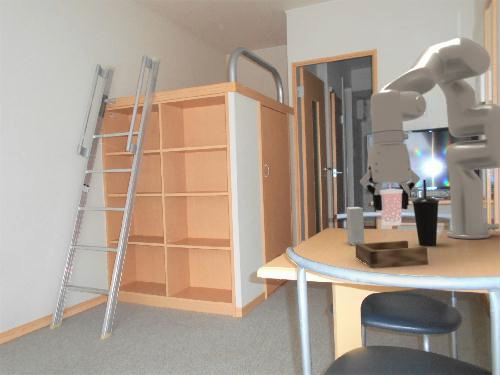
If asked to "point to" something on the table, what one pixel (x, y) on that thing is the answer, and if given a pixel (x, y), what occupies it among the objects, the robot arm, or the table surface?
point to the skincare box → (355, 225)
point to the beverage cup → (391, 206)
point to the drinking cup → (426, 218)
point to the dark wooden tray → (391, 254)
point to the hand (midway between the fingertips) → (391, 208)
